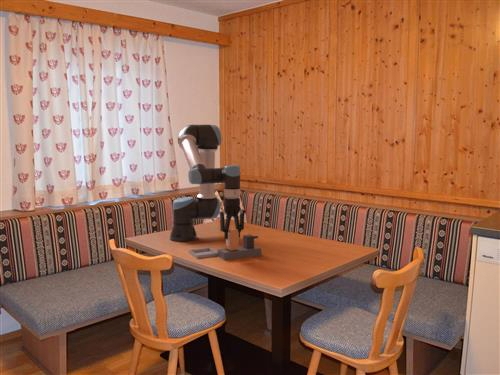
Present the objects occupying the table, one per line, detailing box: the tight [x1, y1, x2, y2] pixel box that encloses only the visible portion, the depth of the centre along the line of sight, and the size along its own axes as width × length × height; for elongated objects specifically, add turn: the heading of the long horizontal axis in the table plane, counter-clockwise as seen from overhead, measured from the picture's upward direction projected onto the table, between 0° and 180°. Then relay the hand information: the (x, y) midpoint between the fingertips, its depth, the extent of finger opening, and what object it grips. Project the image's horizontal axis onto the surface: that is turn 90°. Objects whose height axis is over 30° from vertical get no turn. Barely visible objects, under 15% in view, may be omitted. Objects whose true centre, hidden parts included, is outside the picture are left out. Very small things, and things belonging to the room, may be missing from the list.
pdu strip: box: [217, 234, 262, 261], centre depth 227 cm, size 8×20×10 cm, turn 118°
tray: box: [188, 246, 218, 259], centre depth 229 cm, size 11×11×2 cm
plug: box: [226, 227, 239, 251], centre depth 224 cm, size 4×4×10 cm
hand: (232, 244), depth 225 cm, fingers closed on plug, 4 cm apart
